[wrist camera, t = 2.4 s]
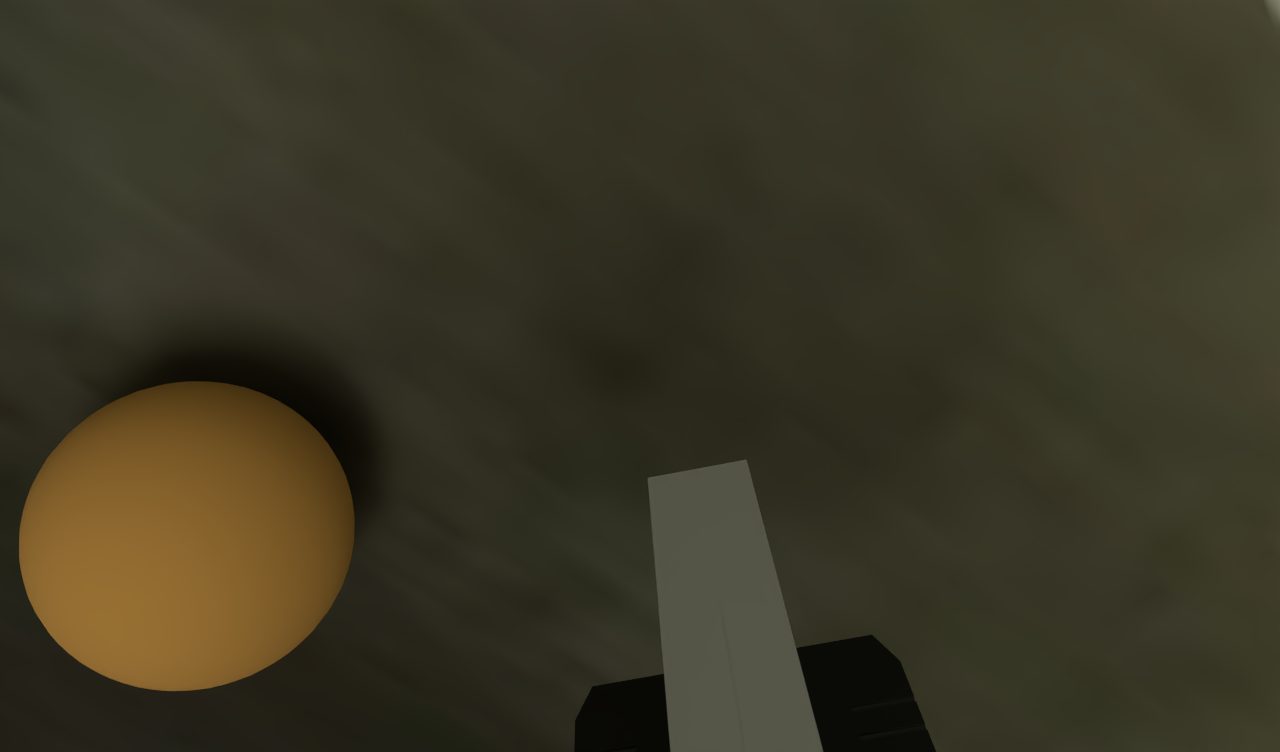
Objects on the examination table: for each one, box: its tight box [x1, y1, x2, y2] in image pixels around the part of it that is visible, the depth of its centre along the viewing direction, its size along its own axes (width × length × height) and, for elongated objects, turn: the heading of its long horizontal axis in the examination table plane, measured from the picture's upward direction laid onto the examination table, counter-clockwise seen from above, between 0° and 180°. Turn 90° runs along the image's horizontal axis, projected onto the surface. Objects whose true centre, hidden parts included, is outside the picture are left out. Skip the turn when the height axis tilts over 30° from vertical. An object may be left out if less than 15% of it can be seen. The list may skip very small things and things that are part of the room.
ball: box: [19, 381, 355, 691], centre depth 20 cm, size 6×6×6 cm
